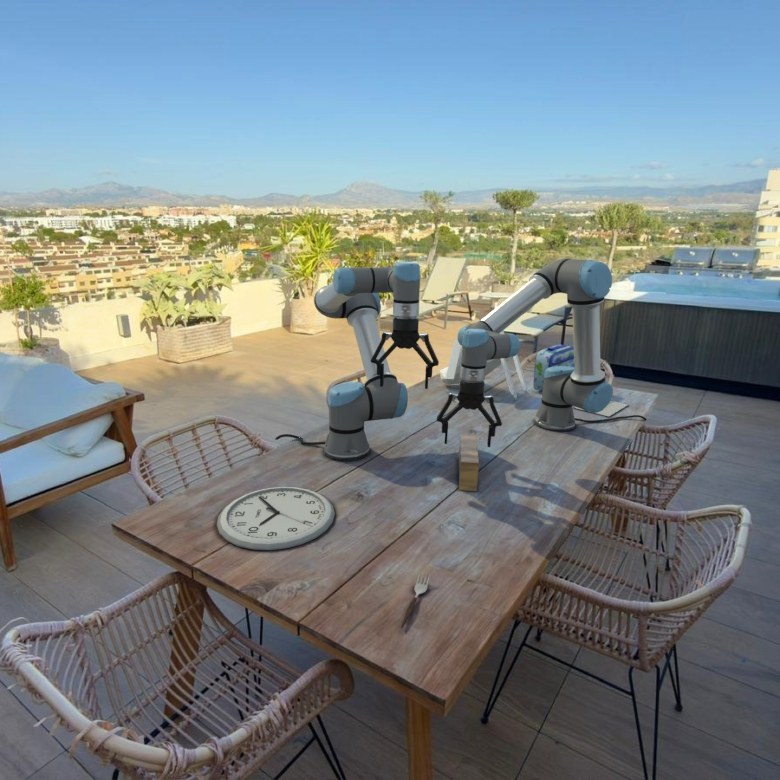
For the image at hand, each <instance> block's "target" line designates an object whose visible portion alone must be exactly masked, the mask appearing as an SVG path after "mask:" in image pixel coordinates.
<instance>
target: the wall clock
mask: <svg viewBox="0 0 780 780" xmlns="http://www.w3.org/2000/svg"><path fill="white" fill-rule="evenodd" d="M335 516H336V513H335V509H334V505H333V504H332V503H331V502H330V500H329V499H328V498H327V497H325V496H323V495H322V494H321V493H319V492H316V491H313V490H311V489H307V488H302V487H296V486H279V487H278V486H277V487H267V488H263V489H258V490H255V491H251V492H249V493H246V494H243V495H242V496H240V497H238V498H235V499H234V500H232V501H231V502H230V503H228V505H226V506H225V507H223V509H222V510H221V512H220V514H219V515H218V517H217V521H216V529H217V531H218V533H219V535H220V536H221V537H222V538H223V539H224V540H225V541H226V542H227V543H230V544H233V545H235V546H236V547H239V548H244V549H249V550H257V551H274V550H285V549H289V548H292V547H297V546H301V545H304V544H306V543H308V542H310V541H312V540H315V539H317V538H318V537H319V536H321V535H323V534H324V533H325V532H326V531H328V529H329V528H330V527H331V525H332V524H333V522H334V518H335Z"/></svg>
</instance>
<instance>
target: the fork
mask: <svg viewBox="0 0 780 780" xmlns="http://www.w3.org/2000/svg"><path fill="white" fill-rule="evenodd" d="M421 572H422V571H421V570H420V571H419V574H418V577H417V580H416V583H415V585H414V592H415V596H413V597H414V598H413V599H412V600H411V601H410V603H409V605H408V607H407V608H406V611H405V614H404V618H403V620H402V624H401V625H400V628H401V629H403V628H404V627H405V625H406V623H407V621H408V620H409V617H410V616H411V615H412V613H413V611H414V609H415V606H416V603H417V599H418V597H419V596H420V595H423V594H425V593H426V592H427V590H428V587H429V582H430V577H431V574H429V575H428V572H426V573H425V571H423V573H422V575H421ZM424 574H425V577H424ZM427 576H428V578H427ZM423 579H424V580H423ZM426 580H427V581H426Z"/></svg>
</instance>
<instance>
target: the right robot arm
mask: <svg viewBox="0 0 780 780" xmlns="http://www.w3.org/2000/svg"><path fill="white" fill-rule="evenodd" d="M612 286H613V274H612V271H611V269H610V267H609V266H608V265H607V264H606V263H605V262H602V261H599V260H594V259H579V258H567V257H566V258H560V259H556V260H554V261H552V262H550V263H548V264H546V265H545V266H543V267H541V268H540V269H538V270H537V271H536V272H534V273H533V274H531V275H530V276H529V279H528V282H526V283H525V284H524V285H522V286H521V287H519V289H518V290H517V291H515V292H514V293H512V294H511V295H510V296H509V297H508V298H506V299H505V300H503V302H501V303H500V304H499V305H498V306H496V307H494V309H492V310H491V311H490V312H489V313H488V314H486V315H485V316H484V317H482V318H481V319H480V320H478V321H477V322H476V323H474V324H473V325H471V324H470V325H469V324H468V325H463V326H462V327H461V328H460V329H459V330H458V333H457V339H458V342H459V344H460V345H461V346H462V360H461V373H460V378H461V380H460V383H459V386H458V387H459V388H458V394H456V393H453V392H452V391H451V392H449V393H448V398H447V399H446V401H445V403H444V405H443V406H442V407H441V409H440V411H439V412H438V415H437V416H436V422H438V423H441V433H442V434H444V445H447V444H448V434H449V421H450V420H451V419H452V418H454V416H455V415H456V414H457V413H458V412H460V411H461V410H462V409H465V410H472V411H475V410H478V411H479V412H480V413H481V414H482V415H483V417H484V418H485V420H486V421H487V422H488V423H489V424H488V431H487V442H486V443H487V448H491V442H492V437H495V436H496V428H497V427H502V425H503V423H502V419H501V417H500V415H499V412H498V410H497V408H496V405H495V403H494V401H495V400H494V396H493V394H489V395H486V396H485V395H484V391H485V381H484V380H486V376H485V371H486V362H487V360H491V359H501V358H509V357H514V356H516V355H518V354H519V352H520V348H521V347H520V346H521V343H520V339H519V337H518V336H517V335H515V334H514V333H508V332H504V334H499V333H501V332H502V331H505V329H507V328H508V327H509V326H511V325H512V324H513V323H514V322H516V321H517V320H518V319H519V318H521V316H523V315H524V314H526V313H527V312H528V311H529V310H531V309H532V308H533V307H534V306H536V305H537V304H538V303H539V302H540V301H541V300H546V299H549V298H550V297H552V296H553V295H555V294H566V302H567V304H568V305H569V306H570V307H571V308H572V309H571V310H572V334H573V335H572V336H573V347H574V365H575V367H569V366H555V367H549V368H547V369H546V370H545V374H544V379H543V390H542V391H541V402H540V405H539V407H538V410H537V411H536V413H535V416H534V424H535V425H536V426H537V427H539V428H542V429H544V430H549V431H556V432H567V431H572V430H574V429H575V428H576V421H577V422H583V423H602V422H610V421H615V420H620V419H631V418H640V419H643V420H644V421H648V419H647V418H646V417H645V416H643V415H639V414H632V415H625V416H624V415H623V416H615V417H611V418H605V419H594V420H593V419H590V420H589V419H581V418H577V417H576V416H575V413H574V407H578V408H581V409H583V410H582V411H584V412H588V411H589V412H588V413H593V414H596V413H597V412H600V411H602V410H603V409H604V408H605V407H606V406H607V405H608V404H609V402H610V401H612V398H613V395H614V389H613V385H611V383H609V382H607V381H606V373H605V372H604V371H603V370H602V369H601V321H600V318H601V317H600V314H601V311H600V309H601V308H600V306H601V304H602V303H603V302H604V301H605V297H606V296H608V294H609V293H610V291H611V289H610V288H612ZM456 399H457V401H458V402H457V404H456V405H455V406H454V407H453V408H452V409H451V410H450V411H449V412H448V413H447V414H446V412H447V411H448V409H449V408H450V406H451V404H452V403H453V402H454V401H455V400H456ZM485 401H486V403H487V404H489V407H490V410H491V411H492V414H493V417H494V419H495V420H494V419H493V417H492V416H491V414H490V413H489V412H488V411H487V409H486V408H485V407H484V405H483V403H484V402H485ZM445 414H446V415H445Z"/></svg>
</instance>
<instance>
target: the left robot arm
mask: <svg viewBox="0 0 780 780" xmlns="http://www.w3.org/2000/svg"><path fill="white" fill-rule="evenodd" d="M421 278H422V277H421V265H420V264H419V262H413V261H399V262H396V263H394V265H391V266H390V265H387V266H376V267H375V266H373V267H370V266H369V267H349V266H345V267H338V268H336V269H334V271H333V276H332V282H331V283H329V284H328V285H324V286H322V287H320V288H319V289H317V291H316V292H315V294H314V296H313V304H314V307H315V309H316V310H317V312H318V313H319V314H320V315H322V316H325V317H326V318H330V319H338V320H339V319H346V321H347V324H348V325H349V326H350V327H351V328H353V332H354V336H355V339H356V344H357V347H358V351H359V355H360V359H361V363H362V366H363V369H364V370H363V371H364V374H365V378H366V380H365V382H364V384H363V383H362V382H360V381H345V382H342V383H341V382H340V383H339V384H336V385H334V386H333V387H331V388H330V390H329V391H328V400H327V404H328V425H329V426H328V433H327V437H326V439H325V441H312V442H311V441H304V439H303V437H301V436H299V435H294V434H289V433H284V434H280V435H277V436H276V437H275V438H274V440H275V441H276V440H277V441H278V440H279V439H281V438H294V439H296V440H300V443H301V444H302V445H305V446H318V445H319V446H320V445H324V446H323V452H324V455H325V456H326V457H327V458H329V459H332V460H336V461H342V462H343V461H347V462H348V461H356V460H360V459H363V458H365V457H367V456H368V455H369V453H370V444H369V441H368V438H367V434H366V431H365V422H370V421H381V420H389V419H390V420H392V419H396V418H401V417H403V416H404V415H405V413H406V411H407V408H408V399H409V396H408V389H407V386H406V384H405V383H403V382H399V381H398V377H397V376H396V375H395V374H393V373H391V369H390V366H389V363H388V359H387V358H388V356H389V355H391V353H392V352H393V351H394V350H396V348H399V349H406V350H410V349H413V351H415V352H416V353H417V355H418V356H419V357H420V358H421V360H422V361H423V362H424V363H425V364H426V365H425V375H424V376H425V377H424V380H425V381H424V389H425V390H428V388H429V378H430V379H431V378H432V377H433V368H434V367H438V366H439V363H440V362H439V361H440V360H439V359H438V356H437V355H436V352H435V350H434V348H433V345H432V344H431V341H430V336H429V335H430V334H429V333H428V332H426V333H423V334H420V333H419V324H420V323H419V322H420V321H419V320H420V319H419V318H418V317H419V315H420V290H421ZM383 293H386V294H387V293H393V298H392V301H393V302H392V306H393V308H392V315H393V316H394V317H392V332H387V331H383V332H382V333H381V334H380V330H379V327H378V324H377V320H378V318H379V315H380V314H381V310H382V305H381V298H380V294H383ZM389 339H391V340H392V344H391V345H390V347H389V348H388V349H387V350H386V351H385V348H384V346H385V343H386V341H388V340H389ZM419 340H421V341H422V343H424V345H425V347H426V349H427V351H428V353H429V356H430V358H431V359H430V358H429V356H428V355H427V354H426V352H424V350H423V349H422V348H421V346H420V345H419V344H418V341H419ZM299 437H300V438H299Z"/></svg>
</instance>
